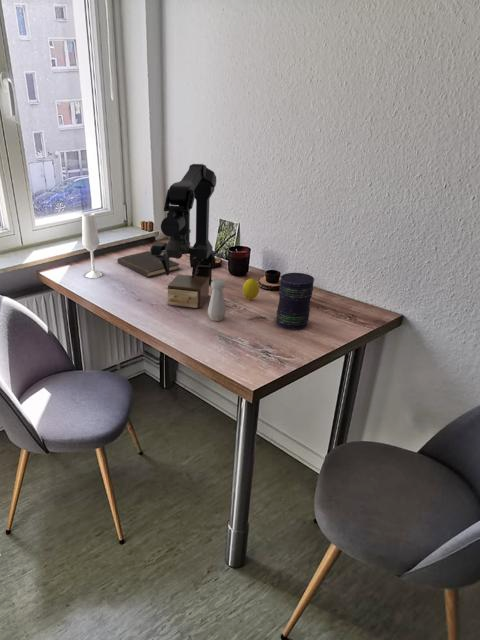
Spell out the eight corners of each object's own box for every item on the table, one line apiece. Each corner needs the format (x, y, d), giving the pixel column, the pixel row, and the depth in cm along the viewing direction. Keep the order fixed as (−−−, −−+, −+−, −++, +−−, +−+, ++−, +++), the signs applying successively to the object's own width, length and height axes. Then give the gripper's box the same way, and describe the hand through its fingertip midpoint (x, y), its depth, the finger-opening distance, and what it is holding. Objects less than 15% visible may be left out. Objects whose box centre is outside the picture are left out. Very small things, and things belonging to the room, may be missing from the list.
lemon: (259, 298, 177) (261, 276, 173) (255, 304, 173) (257, 281, 168) (244, 296, 179) (246, 274, 175) (240, 301, 175) (241, 280, 170)
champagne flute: (105, 273, 205) (100, 213, 192) (95, 278, 200) (89, 217, 187) (92, 271, 208) (86, 211, 195) (82, 276, 203) (75, 215, 190)
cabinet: (200, 308, 171) (200, 288, 167) (167, 304, 175) (167, 285, 171) (208, 296, 180) (209, 277, 177) (177, 292, 184) (177, 274, 180)
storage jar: (302, 332, 153) (308, 286, 145) (271, 326, 157) (275, 280, 149) (311, 320, 160) (318, 275, 152) (281, 314, 164) (286, 270, 156)
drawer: (193, 312, 166) (193, 297, 163) (164, 309, 170) (163, 294, 167) (205, 296, 178) (205, 282, 175) (177, 293, 181) (177, 279, 178)
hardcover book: (148, 255, 222) (148, 250, 221) (179, 269, 206) (179, 263, 205) (117, 263, 215) (117, 258, 214) (147, 278, 199) (146, 272, 197)
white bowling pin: (206, 315, 166) (207, 277, 159) (223, 314, 166) (225, 276, 160) (209, 322, 161) (210, 284, 154) (227, 321, 161) (229, 283, 155)
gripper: (143, 233, 153) (145, 282, 161) (202, 237, 147) (201, 287, 155) (155, 223, 161) (156, 270, 170) (212, 227, 155) (210, 275, 164)
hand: (180, 276), depth 164 cm, fingers open, 8 cm apart
